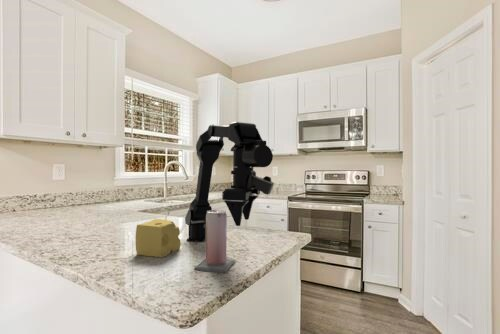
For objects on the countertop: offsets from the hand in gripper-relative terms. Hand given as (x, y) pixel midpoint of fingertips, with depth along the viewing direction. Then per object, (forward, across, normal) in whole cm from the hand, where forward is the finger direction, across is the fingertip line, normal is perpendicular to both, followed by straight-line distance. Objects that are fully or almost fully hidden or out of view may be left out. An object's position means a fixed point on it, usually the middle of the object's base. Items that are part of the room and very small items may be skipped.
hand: (242, 222), depth 78 cm
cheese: (+13, +7, +31) cm, 34 cm away
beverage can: (+12, 0, +8) cm, 15 cm away
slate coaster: (+13, 0, +8) cm, 15 cm away
